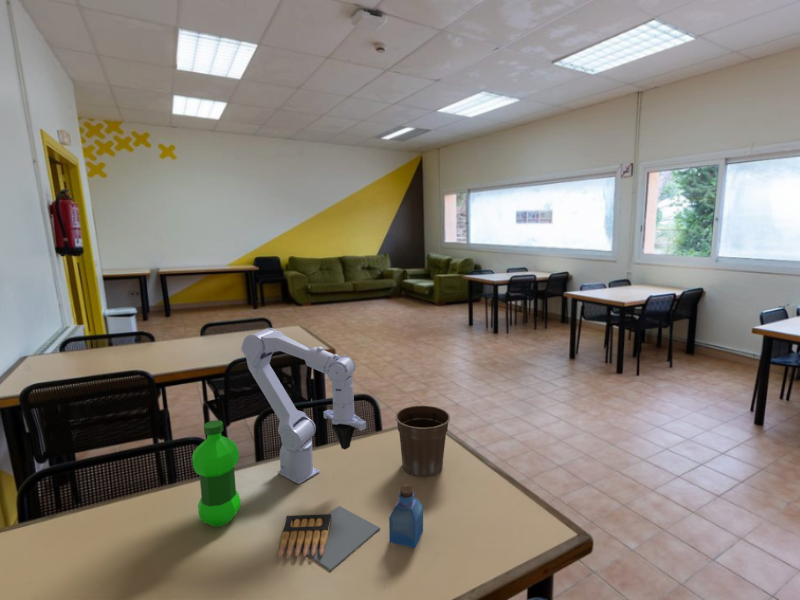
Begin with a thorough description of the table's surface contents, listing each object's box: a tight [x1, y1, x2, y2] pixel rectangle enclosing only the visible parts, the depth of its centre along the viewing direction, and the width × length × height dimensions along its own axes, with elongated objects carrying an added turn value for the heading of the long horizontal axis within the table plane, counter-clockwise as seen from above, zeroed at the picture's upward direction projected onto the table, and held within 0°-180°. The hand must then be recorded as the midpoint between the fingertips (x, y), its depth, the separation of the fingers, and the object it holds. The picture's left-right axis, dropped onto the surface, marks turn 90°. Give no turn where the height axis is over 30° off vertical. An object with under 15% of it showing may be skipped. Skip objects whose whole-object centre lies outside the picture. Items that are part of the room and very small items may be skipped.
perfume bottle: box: [388, 484, 424, 549], centre depth 99 cm, size 6×6×12 cm
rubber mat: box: [294, 505, 381, 572], centre depth 100 cm, size 14×16×1 cm
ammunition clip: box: [278, 513, 331, 559], centre depth 98 cm, size 11×2×12 cm
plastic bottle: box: [191, 419, 242, 528], centre depth 104 cm, size 10×10×25 cm
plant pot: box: [394, 405, 451, 478], centre depth 128 cm, size 16×16×16 cm
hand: (345, 447), depth 119 cm, fingers closed
